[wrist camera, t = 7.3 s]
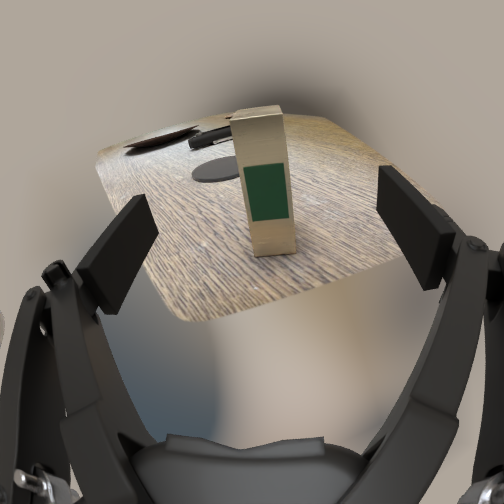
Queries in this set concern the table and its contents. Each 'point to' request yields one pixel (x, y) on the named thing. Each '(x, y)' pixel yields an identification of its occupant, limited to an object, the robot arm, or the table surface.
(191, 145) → the door handle
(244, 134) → the tea tin
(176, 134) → the plate
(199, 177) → the coaster
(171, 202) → the table surface
